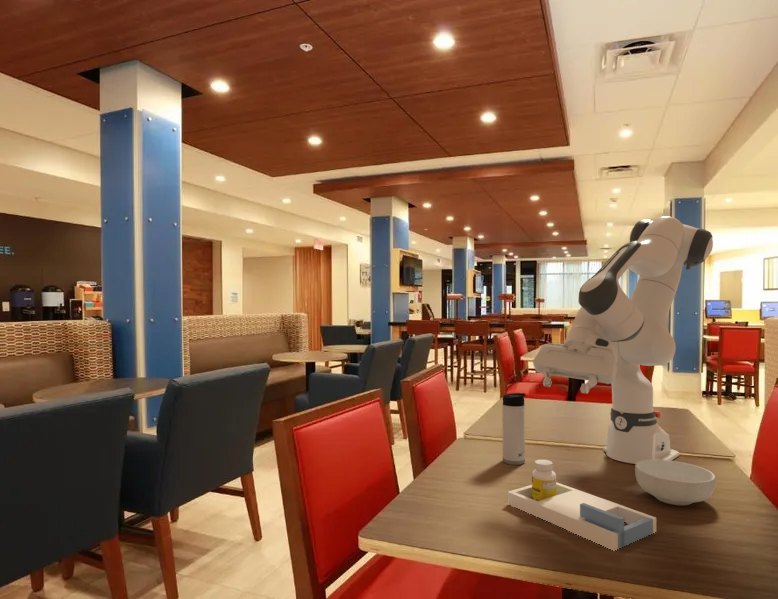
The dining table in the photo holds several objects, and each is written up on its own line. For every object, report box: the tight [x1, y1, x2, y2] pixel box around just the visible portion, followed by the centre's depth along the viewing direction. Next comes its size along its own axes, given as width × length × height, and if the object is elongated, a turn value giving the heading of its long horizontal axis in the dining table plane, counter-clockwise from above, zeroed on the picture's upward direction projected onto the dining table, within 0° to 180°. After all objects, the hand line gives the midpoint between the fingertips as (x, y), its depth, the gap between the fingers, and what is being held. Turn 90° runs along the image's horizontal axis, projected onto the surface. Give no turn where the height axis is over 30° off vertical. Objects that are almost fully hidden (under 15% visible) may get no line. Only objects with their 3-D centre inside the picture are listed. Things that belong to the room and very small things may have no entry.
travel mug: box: [502, 392, 527, 466], centre depth 153 cm, size 6×7×20 cm
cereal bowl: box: [634, 459, 716, 506], centre depth 124 cm, size 17×17×7 cm
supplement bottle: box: [531, 459, 557, 501], centre depth 121 cm, size 5×5×10 cm
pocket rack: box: [507, 481, 657, 552], centre depth 114 cm, size 14×27×6 cm, turn 33°
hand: (564, 388), depth 129 cm, fingers open, 8 cm apart
